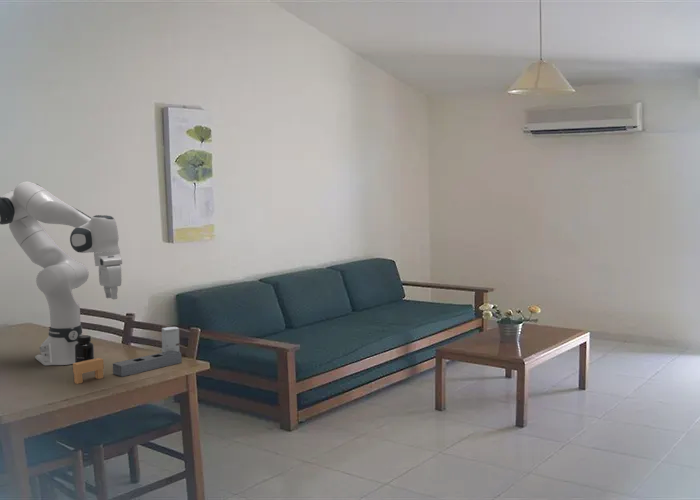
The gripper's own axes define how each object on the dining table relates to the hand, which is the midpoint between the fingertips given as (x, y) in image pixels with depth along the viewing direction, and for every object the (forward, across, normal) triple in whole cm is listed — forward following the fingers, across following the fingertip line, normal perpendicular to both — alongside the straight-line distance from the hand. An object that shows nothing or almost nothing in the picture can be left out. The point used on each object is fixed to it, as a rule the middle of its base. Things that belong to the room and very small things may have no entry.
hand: (111, 298), depth 255 cm
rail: (+29, -11, +13) cm, 34 cm away
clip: (+29, -6, -10) cm, 31 cm away
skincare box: (+28, -22, +25) cm, 44 cm away
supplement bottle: (+27, -25, -7) cm, 38 cm away
